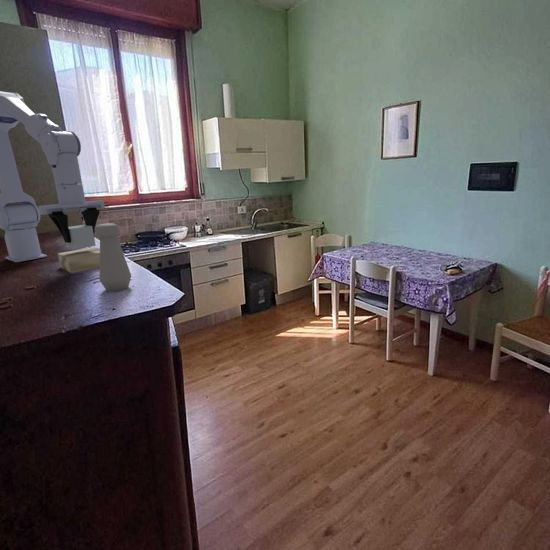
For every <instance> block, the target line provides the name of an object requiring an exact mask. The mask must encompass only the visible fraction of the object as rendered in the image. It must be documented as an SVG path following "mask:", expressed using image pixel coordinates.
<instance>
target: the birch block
mask: <svg viewBox="0 0 550 550" xmlns="http://www.w3.org/2000/svg"><path fill="white" fill-rule="evenodd" d="M57 257H58V261H59V267H60V268H61V269H63V270H64V271H67V272H68V273H70V274H75V273H79V272H83V271H88V270H95V269H100V247H99V248H98V247H96V246H92V247H86V248H81V249H74V250H69V251H63V252H58V253H57Z"/></svg>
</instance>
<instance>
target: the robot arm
mask: <svg viewBox="0 0 550 550" xmlns="http://www.w3.org/2000/svg"><path fill="white" fill-rule="evenodd" d="M19 123H21V124H23V125H24V130H25V131H26V133H27V135H29V136H31V137H32V138H33V139H34V140H35V141H37V142H38V143H39V144H40V146H41V149H42V152H43V153H44V156H45V157H46V160H47V161H46V162H47V163H48V165H50V166H51V167H50V168H51V170H52V176H53V179H54V180H53V181H54V185H55V191H56V195H57V200H58V203H55V204H46V205H45V204H44V205H38V206H37V204H36V200H35V199H34V197H32V196H31V195H29V194H27V193H25V192H24V190H23V186H22V182H21V178H20V175H19V171H18V168H17V163H16V159H15V155H14V151H13V147H12V145H11V140H10V136H9V131H10V129H13V128H15V127H17V125H18V124H19ZM81 151H82V145H81V141H80V138H79V137H78V135H77V134H76V133H75V132H74V131H69V130H68V131H66V130H65V131H64V130H63V129H62V128H61V127H60V126H59V125H58V124H55V123H54V122H52V121H51V120H50V119H49V117H48V115H46V114H45V113H34V112H33V111H32V109H30V108H29V107H28V106H27V105H26V103H25V99H24V97H23V96H21V95H20V94H19V93H17V92H9V91H7V92H6V91H2V90H0V229H1V230H4V232H5V233H4V241H5V244H6V249H7V253H8V256H5V257H4V258H5V259H6V260H9V261H12V262H14V263H20V262H26V261H31V260H36V259H40V258H42V259H43V258H47V257H48V255H47V254H44V253H42V251H41V246H40V241H39V238H38V233H37V229H36V227H38V226H39V225H38V224H39V222H40V220H41V215H42V216H43V215H48V218H49V219H50V220H51V221H52V223H54V225H55V226H56V228H57V230H58V231H59V232H60V234H61V236H62V238H63V240H64V243H65V244H66V243H71V237H70V233H69V228H68V227H69V220H68V219H69V218H68V217H69V216H68V215H67V214H65V213H69V212H79V211H81V212H80V213H81V215H82V219H83V221H84V225H88V226H92V228H93V234H94V236H96V235H95V227H96V226H97V225H96V224H97V222H98V219H99V215H100V209H105V208H106V206H105V200H92V201H91V200H90V201H87V200H86V198H85V192H84V191H85V190H84V185H83V182H82V181H83V179H82V176H81V170H80V163H79V158H78V157H79V156H80V154H81ZM12 203H13V204H12ZM14 203H16V204H14Z"/></svg>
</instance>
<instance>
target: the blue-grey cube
mask: <svg viewBox="0 0 550 550" xmlns="http://www.w3.org/2000/svg"><path fill="white" fill-rule="evenodd" d="M68 228H69V233H70V237H71V243H66V242H65V246H66V248H67V249H72V250H81V249H87V248H93V247H96V246H97V245H96V241H95V235H94V234H93V228H92V226H88V225H85V224H79V225H73V226H68Z"/></svg>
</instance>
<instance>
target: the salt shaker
mask: <svg viewBox="0 0 550 550" xmlns="http://www.w3.org/2000/svg"><path fill="white" fill-rule="evenodd" d="M120 234H121V233H120V228H119V225H117V224H116V223H113V222H108V223H107V222H106V223H101V224H97V225H96V226H95V235H94V236H96V238H98V239H99V249H100V267H99V275H98V276H99V277H98V278H99V282H100V283H101V285H102V286H103V288H104V289H105V291H106V292H112V293H113V292H119V291H124V290H126V289H128V288H129V286H130V282H131V280H132V273H131V271H130V268H129V265H128V263H127V260H126V257H125V254H124V252H123V249H122V247H121V243H120V241H119V238H118V236H119V235H120Z"/></svg>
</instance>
